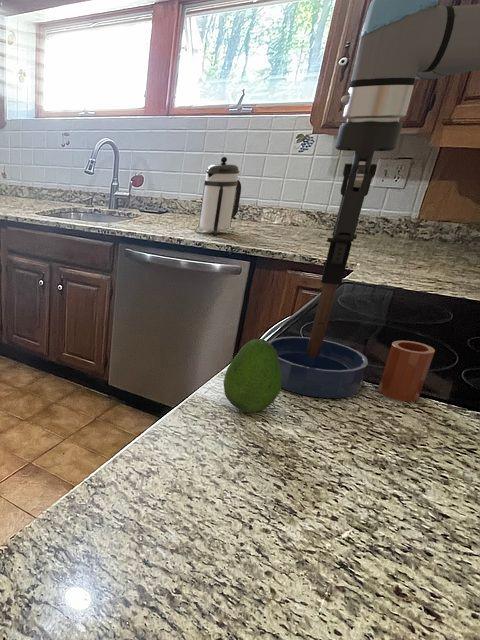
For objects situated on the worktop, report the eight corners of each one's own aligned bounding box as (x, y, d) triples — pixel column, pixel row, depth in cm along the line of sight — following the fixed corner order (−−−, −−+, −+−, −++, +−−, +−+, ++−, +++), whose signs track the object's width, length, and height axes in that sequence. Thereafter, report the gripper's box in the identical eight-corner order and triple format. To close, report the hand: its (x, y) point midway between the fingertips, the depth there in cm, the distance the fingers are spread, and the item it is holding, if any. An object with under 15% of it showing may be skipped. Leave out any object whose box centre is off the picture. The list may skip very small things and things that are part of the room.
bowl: (315, 361, 99) (322, 334, 97) (381, 397, 86) (391, 367, 83) (242, 367, 97) (247, 339, 95) (297, 406, 83) (305, 375, 81)
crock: (396, 388, 88) (412, 339, 85) (426, 404, 83) (444, 352, 80) (368, 391, 88) (383, 341, 84) (396, 407, 83) (413, 354, 79)
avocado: (254, 427, 78) (269, 352, 73) (209, 406, 84) (221, 336, 79) (285, 412, 82) (301, 341, 77) (240, 393, 88) (253, 326, 83)
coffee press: (235, 237, 212) (248, 157, 200) (194, 235, 217) (204, 157, 205) (234, 229, 227) (246, 155, 215) (195, 228, 232) (205, 155, 220)
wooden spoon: (306, 350, 91) (341, 208, 81) (319, 352, 90) (356, 209, 80) (305, 356, 89) (341, 210, 79) (319, 358, 88) (357, 211, 78)
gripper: (341, 121, 82) (307, 268, 92) (341, 120, 71) (302, 289, 80) (399, 120, 79) (357, 273, 88) (409, 119, 67) (360, 296, 77)
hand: (331, 281), depth 84 cm, fingers closed on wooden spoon, 2 cm apart
